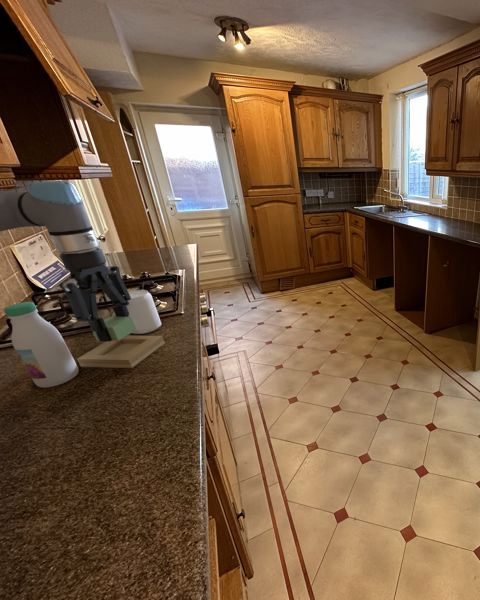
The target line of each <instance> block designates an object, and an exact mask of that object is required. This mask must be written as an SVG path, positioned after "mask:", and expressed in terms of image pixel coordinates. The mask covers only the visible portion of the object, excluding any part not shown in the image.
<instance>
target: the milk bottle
mask: <svg viewBox="0 0 480 600" xmlns="http://www.w3.org/2000/svg"><path fill="white" fill-rule="evenodd" d="M3 312H4V314H5V315H6V316H7V319H9V320H10V321H11V324H12V329H11V338H10V339H11V344H12V346H13V348H14V351H15V352H16V354H17V356H18V358H19V359H20V361H21V362H22V364H23V366H24V367H25V370H26V371H27V373H28V374H29V376H30V378H31V380H32V381H33V383H34V384H35V386H37V387H38V388H43V389H44V388H45V389H46V388H52V387H55V386H60V385H62V384H64V383H67V382H68V381H71V380H73V379H74V378H75V377H76V376H77V375H78V374H79V371H80V369H79V367H78V365H77V363H76V360H75V359H74V357H73V355H72V352H71V351H70V348H68V345H67V343H66V341H65V340H64V338H63V336H62V334H61V333H60V332H59V330H58V329H57V328H56V327H55V326H54V324H52V323H50V322H48V321H47V320H45V319H44V317H42V316H41V315H39V313H38V312H39V310H38V309H37V305H35V303H34V302H32V301H24V302H19V303H15V304H10V305H9V306H6V307H5V308H4V309H3Z"/></svg>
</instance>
